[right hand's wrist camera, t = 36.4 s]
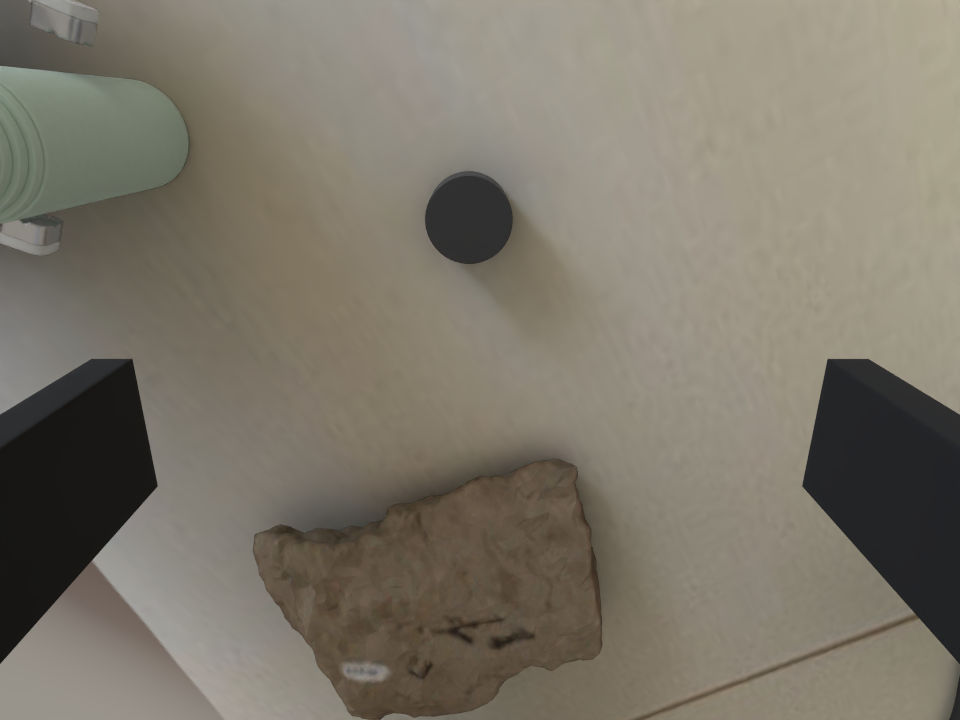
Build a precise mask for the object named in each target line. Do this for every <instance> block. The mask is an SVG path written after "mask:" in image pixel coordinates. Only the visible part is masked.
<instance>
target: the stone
mask: <svg viewBox="0 0 960 720" xmlns="http://www.w3.org/2000/svg"><path fill="white" fill-rule="evenodd" d="M577 477H578V471H577V467H576V466H574V465H572V464H570V463H567V462H564V461H562V460H560V459H552V460H550V461H547V460H545V461H539V462H534V463H532V464H529V465H526V466H524V467H521V468H519V469H516V470H514V471H513V472H511V473H510V474H508V475H505V476H492V477H485V476H478V477H476V478H474V479H473V480H471V481H469V482H467V483H466V484H465V485H463V486H460V487H458V488H457V489H456V490H455V491H453V492H451V493H448V494H446V495H442V496H428V497H426V498H424V499H422V500H420V501H416V502H413V503H400V504H396V505H392V506H390V507H389V508H388V509H387V513H386V517H385V518H384V519H383V520H382V521H381V522H371V523H369V524H367V525H366V526H365V527H355V526H350V527H347V528H344V529H343V530H342V531H337V530H333V529H319V528H316V529H314V530H311V531H309V532H307V533H302V532H300V531H298V530H295V529H294V528H292V527H289V526H285V525H278V526H275V527H273V528H271V529H269V530H267V531H263V532H260V533H257V534H255V536H254V546H253V553H254V556H255V560H256V562H257V565H258V569H259V575H260V577H261V578H262V579H263V581H264V583H265V587H266V590H267V591H268V593H269V594H270V595H271V597H272V598H273V600H274V601H275V603H276V604H277V605H278V606H280V608H281V610H282V612H283V614H284V617H285V619H286V620H287V621H288V622H289V623H290V625H291V626H292V628H293V629H295V630H296V631H298V632H299V633H300V634H301V635H302V636H303V638H304V639H305V641H306V643H308V644H309V645H310V646H311V648H312V649H313V651H314V654H315V658H316V662H317V665H318V667H319V668H320V670H321V671H322V672H323V673H324V674H325V675H326V676H327V677H328V678H329V679H330V681H331V683H332V685H333V686H334V688H335V690H336V692H337V693H338V695H339V696H340V698H341V699H342V701H343V702H344V704H345V706H346V708H347V711H348V712H349V713H350V714H351V715H352V716H356V717H361V718H362V719H369V720H380V719H381V718H383V717H384V716H385V715H388V714H392V713H399V714H407V715H410V716H412V717H414V718H415V717H418V716H440V715H447V714H456V713H462V712H467V711H471V710H474V709H476V708H478V707H480V706H482V705H484V704H486V703H488V702H490V701H491V700H492V699H493V698H494V697H495V696H496V695H497V693H498V691H499V688H500V687H501V685H502V684H503V683H504V682H505V681H506V680H507V679H508V678H510V677H512V676H515V675H517V674H518V673H519V672H520V671H522V670H523V669H524V668H526V667H529V666H537V667H543V668H546V669H547V670H550V671H553V670H554V669H556V668H557V667H559V666H560V665H561V664H564V663H567V662H571V661H576V660H579V659H580V660H591V659H593V658H595V657H596V656H597V655H598V654H599V653H600V651H601V648H602V639H601V637H602V616H601V600H600V591H599V582H598V576H597V571H596V558H595V555H594V552H593V548H592V547H591V528H590V527H589V525H588V523H587V521H586V520H585V517H584V512H583V506H582V503H581V502H580V500H579V496H578V492H577V488H576V485H575V481H576V479H577Z"/></svg>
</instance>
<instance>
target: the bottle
mask: <svg viewBox="0 0 960 720" xmlns="http://www.w3.org/2000/svg"><path fill="white" fill-rule="evenodd" d="M188 148H189V139H188V133H187V129H186V125H185V123H184V120H183V118H182V116H181V114H180V112H179V110H178V109H177V107H176V106H175V105H174V103H173V102H172V101H171V100H170V99H169V98H168V97H167V96H166V95H165V94H164V93H162V92H161V91H160V90H158V89H157V88H155V87H153V86H152V85H150V84H147V83H145V82H142V81H138V80H133V79H125V78H115V77H105V76H95V75H86V74H76V73H66V72H56V71H46V70H36V69H27V68H17V67H7V66H0V224H2V223H7V222H11V221H16V220H20V219H24V218H29V217H33V216H37V215H41V214H46V213H50V212H54V211H58V210H63V209H67V208H71V207H75V206H80V205H84V204H88V203H93V202H97V201H101V200H105V199H110V198H114V197H118V196H122V195H127V194H131V193H135V192H140V191H144V190H148V189H152V188H156V187H160V186H163V185H165V184H167V183H168V182H170V181H172V180H173V179H174V178H175V177H176V176H177V175H178V174H179V173H180V171H181V170H182V168H183V166H184V164H185V162H186V159H187V155H188Z"/></svg>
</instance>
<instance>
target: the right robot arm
mask: <svg viewBox="0 0 960 720" xmlns="http://www.w3.org/2000/svg"><path fill="white" fill-rule="evenodd" d="M157 486H158V485H157V480H156V475H155V470H154V465H153V460H152V455H151V450H150V445H149V440H148V435H147V430H146V425H145V420H144V415H143V410H142V405H141V400H140V395H139V390H138V385H137V380H136V375H135V370H134V365H133V360H132V359H91V360H89V361H88V362H86V363H84V364H83V365H81V366H79V367H78V368H76V369H75V370H73V371H71V372H70V373H68V374H66V375H65V376H63V377H61V378H60V379H58V380H57V381H55V382H53V383H52V384H50V385H48V386H47V387H45V388H43V389H42V390H40V391H38V392H37V393H35V394H34V395H32V396H30V397H29V398H27V399H25V400H24V401H22V402H20V403H19V404H17V405H15V406H14V407H12V408H11V409H9V410H7V411H6V412H4V413H2V414H1V415H0V663H1V662H2V661H3V660H4V659H5V658H6V657H7V656H8V654H9V653H10V652H11V651H12V650H13V649H14V648H15V647H16V645H17V644H18V643H19V642H20V641H21V640H22V639H23V637H24V636H25V635H26V634H27V633H28V632H29V631H30V630H31V628H32V627H33V626H34V625H35V624H36V623H37V622H38V621H39V619H40V618H41V617H42V616H43V615H44V614H45V613H46V612H47V610H48V609H49V608H50V607H51V606H52V605H53V604H54V603H55V601H56V600H57V599H58V598H59V597H60V596H61V595H62V593H63V592H64V591H65V590H66V589H67V588H68V587H69V586H70V584H71V583H72V582H73V581H74V580H75V579H76V578H77V576H78V575H79V574H80V573H81V572H82V571H83V570H84V569H85V568H86V566H87V565H88V564H89V563H90V562H91V561H92V560H93V559H94V557H95V556H96V555H97V554H98V553H99V552H100V551H101V550H102V548H103V547H104V546H105V545H106V544H107V543H108V542H109V541H110V539H111V538H112V537H113V536H114V535H115V534H116V533H117V531H118V530H119V529H120V528H121V527H122V526H123V525H124V524H125V522H126V521H127V520H128V519H129V518H130V517H131V516H132V515H133V513H134V512H135V511H136V510H137V509H138V508H139V507H140V506H141V504H142V503H143V502H144V501H145V500H146V499H147V498H148V497H149V495H150V494H151V493H152V492H153V491H154V490H155V489H156V487H157ZM802 486H803V487H804V489H805V490H806V491H807V492H808V493H809V494H810V495H811V497H812V498H813V499H814V500H815V501H816V502H817V503H818V504H819V506H820V507H821V508H822V509H823V510H824V511H825V512H826V513H827V515H828V516H829V517H830V518H831V519H832V520H833V521H834V522H835V524H836V525H837V526H838V527H839V528H840V529H841V530H842V531H843V533H844V534H845V535H846V536H847V537H848V538H849V539H850V541H851V542H852V543H853V544H854V545H855V546H856V547H857V548H858V550H859V551H860V552H861V553H862V554H863V555H864V556H865V557H866V559H867V560H868V561H869V562H870V563H871V564H872V565H873V566H874V568H875V569H876V570H877V571H878V572H879V573H880V574H881V575H882V577H883V578H884V579H885V580H886V581H887V582H888V583H889V584H890V586H891V587H892V588H893V589H894V590H895V591H896V592H897V594H898V595H899V596H900V597H901V598H902V599H903V600H904V601H905V603H906V604H907V605H908V606H909V607H910V608H911V609H912V610H913V612H914V613H915V614H916V615H917V616H918V617H919V618H920V619H921V621H922V622H923V623H924V624H925V625H926V626H927V627H928V628H929V630H930V631H931V632H932V633H933V634H934V635H935V636H936V638H937V639H938V640H939V641H940V642H941V643H942V644H943V645H944V647H945V648H946V649H947V650H948V651H949V652H950V653H951V654H952V656H953V657H954V658H955V659H956V660H957V661H958V662H959V663H960V415H959V414H958V413H956V412H954V411H953V410H951V409H949V408H948V407H946V406H945V405H943V404H941V403H940V402H938V401H936V400H935V399H933V398H931V397H930V396H928V395H926V394H925V393H923V392H922V391H920V390H918V389H917V388H915V387H913V386H912V385H910V384H908V383H907V382H905V381H903V380H902V379H900V378H899V377H897V376H895V375H894V374H892V373H890V372H889V371H887V370H885V369H884V368H882V367H881V366H879V365H877V364H876V363H874V362H872V361H871V360H869V359H828V360H827V365H826V370H825V375H824V380H823V385H822V390H821V395H820V400H819V405H818V410H817V415H816V420H815V425H814V430H813V435H812V440H811V445H810V450H809V455H808V460H807V465H806V470H805V475H804V480H803V485H802ZM949 720H960V678H959V683H958V688H957V694H956V699H955V703H954V707H953V711H952V714H951V717H950V719H949Z"/></svg>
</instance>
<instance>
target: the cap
mask: <svg viewBox="0 0 960 720" xmlns="http://www.w3.org/2000/svg"><path fill="white" fill-rule="evenodd" d="M425 224H426V230H427V233H428V236H429V238H430V240H431V242H432V244H433V245H434V247H435V248H436V249H437V250H438V251H439V252H440V253H441V254H442V255H444V256H445V257H447V258H449V259H450V260H453V261H455V262H459V263H465V264H473V263H479V262H483V261H485V260H488V259H489V258H491V257H493V256H494V255H496V254H497V253H498V252H499V251H500V250H501V249H502V248H503V246H504V245H505V244H506V242H507V240H508V238H509V236H510V233H511V229H512V211H511V207H510V204H509V201H508V199H507V197H506V194H505V193H504V191H503V189H502V188H501V187H500V185H499V184H498V183H497V182H496V181H494V180H493V179H492V178H490V177H488V176H486V175H484V174H482V173H478V172H460V173H456V174H454V175H451V176H449V177H448V178H446V179H445V180H444V181H442V182H441V183H440V184H439V185H438V186H437V188H436V189H435V191H434V192H433V194H432V196H431V198H430V200H429V203H428V206H427V209H426V216H425Z"/></svg>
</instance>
